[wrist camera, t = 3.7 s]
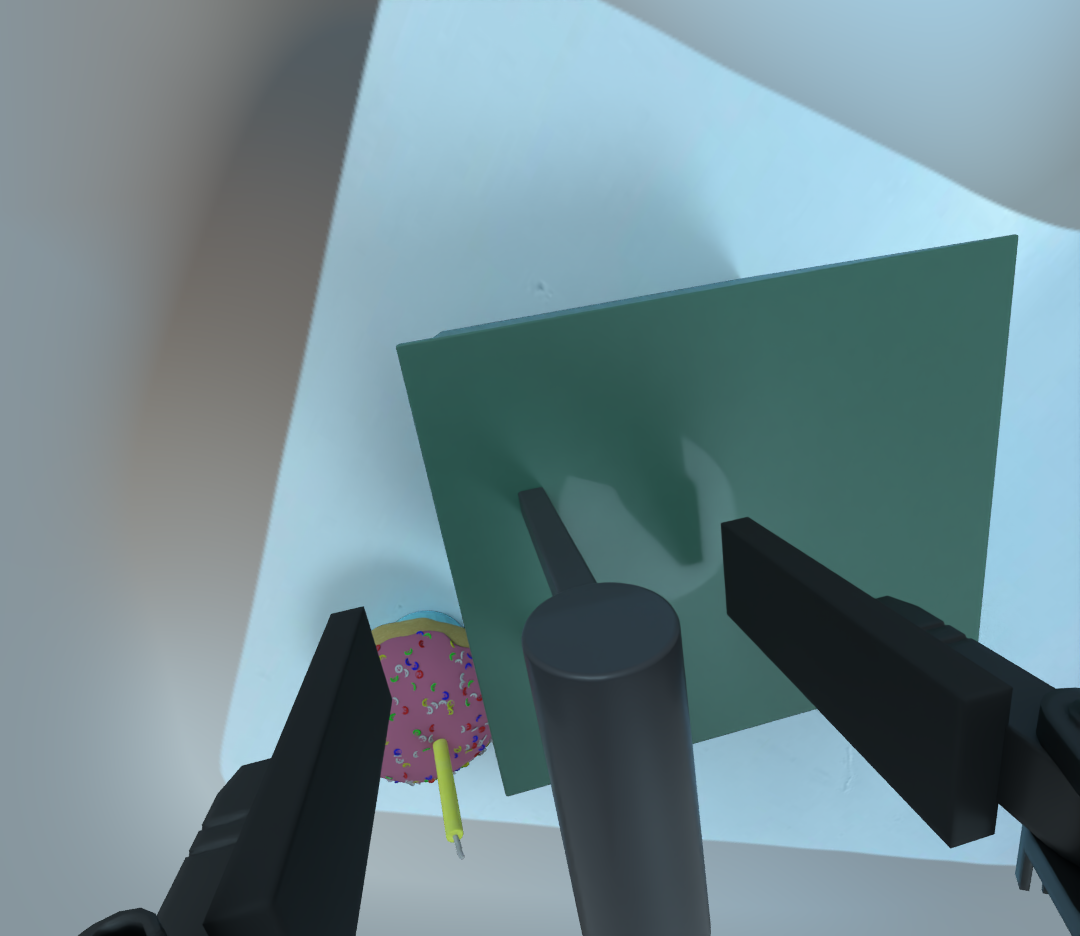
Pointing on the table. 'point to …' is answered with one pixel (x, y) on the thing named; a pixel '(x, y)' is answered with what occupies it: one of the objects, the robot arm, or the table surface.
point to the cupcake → (431, 707)
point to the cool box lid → (697, 522)
